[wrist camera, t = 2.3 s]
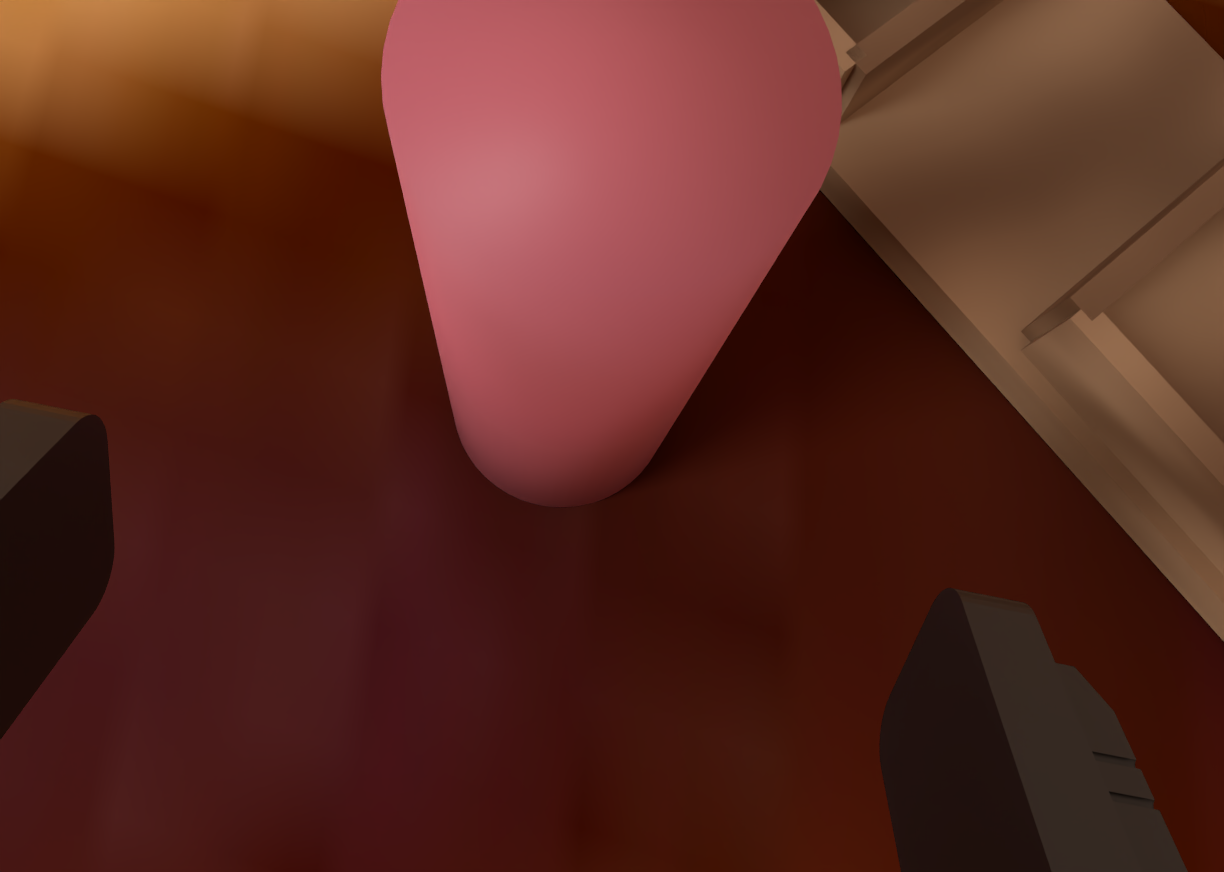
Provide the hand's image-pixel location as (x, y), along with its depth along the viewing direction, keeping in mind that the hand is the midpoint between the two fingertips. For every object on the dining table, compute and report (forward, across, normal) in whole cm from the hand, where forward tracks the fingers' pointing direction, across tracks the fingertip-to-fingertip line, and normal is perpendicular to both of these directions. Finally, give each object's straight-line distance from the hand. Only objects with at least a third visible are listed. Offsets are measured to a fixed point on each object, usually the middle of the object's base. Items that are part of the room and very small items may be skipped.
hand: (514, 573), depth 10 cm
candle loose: (+11, 0, +4) cm, 12 cm away
